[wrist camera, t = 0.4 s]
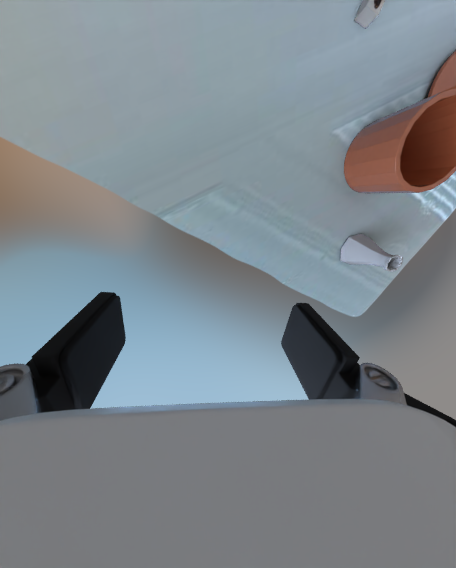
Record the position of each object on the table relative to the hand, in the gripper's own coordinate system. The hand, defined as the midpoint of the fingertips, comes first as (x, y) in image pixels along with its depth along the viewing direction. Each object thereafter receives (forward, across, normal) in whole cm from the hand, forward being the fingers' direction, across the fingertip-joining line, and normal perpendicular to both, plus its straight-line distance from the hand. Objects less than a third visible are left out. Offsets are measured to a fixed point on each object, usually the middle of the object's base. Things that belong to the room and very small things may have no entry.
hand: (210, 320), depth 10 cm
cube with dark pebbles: (+30, -20, -32) cm, 48 cm away
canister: (+30, -30, -16) cm, 45 cm away
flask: (+30, -34, +1) cm, 45 cm away
